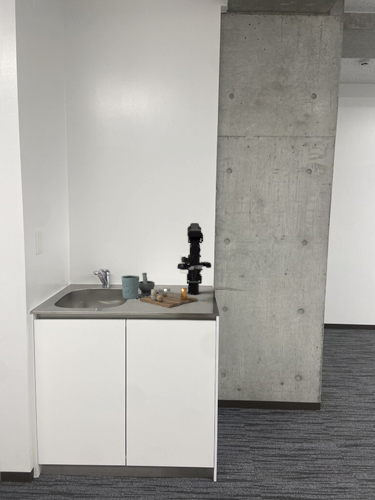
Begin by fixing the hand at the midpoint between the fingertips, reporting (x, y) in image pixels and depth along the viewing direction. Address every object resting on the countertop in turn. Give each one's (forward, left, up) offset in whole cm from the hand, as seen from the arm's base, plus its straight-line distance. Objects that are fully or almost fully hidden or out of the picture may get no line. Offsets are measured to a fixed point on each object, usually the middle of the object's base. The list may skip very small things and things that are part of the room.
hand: (194, 281), depth 230 cm
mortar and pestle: (+6, -32, -11) cm, 35 cm away
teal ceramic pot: (+19, -31, -11) cm, 38 cm away
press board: (+10, -10, -11) cm, 18 cm away
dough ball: (+18, -9, -8) cm, 21 cm away
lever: (+6, -10, -10) cm, 15 cm away
